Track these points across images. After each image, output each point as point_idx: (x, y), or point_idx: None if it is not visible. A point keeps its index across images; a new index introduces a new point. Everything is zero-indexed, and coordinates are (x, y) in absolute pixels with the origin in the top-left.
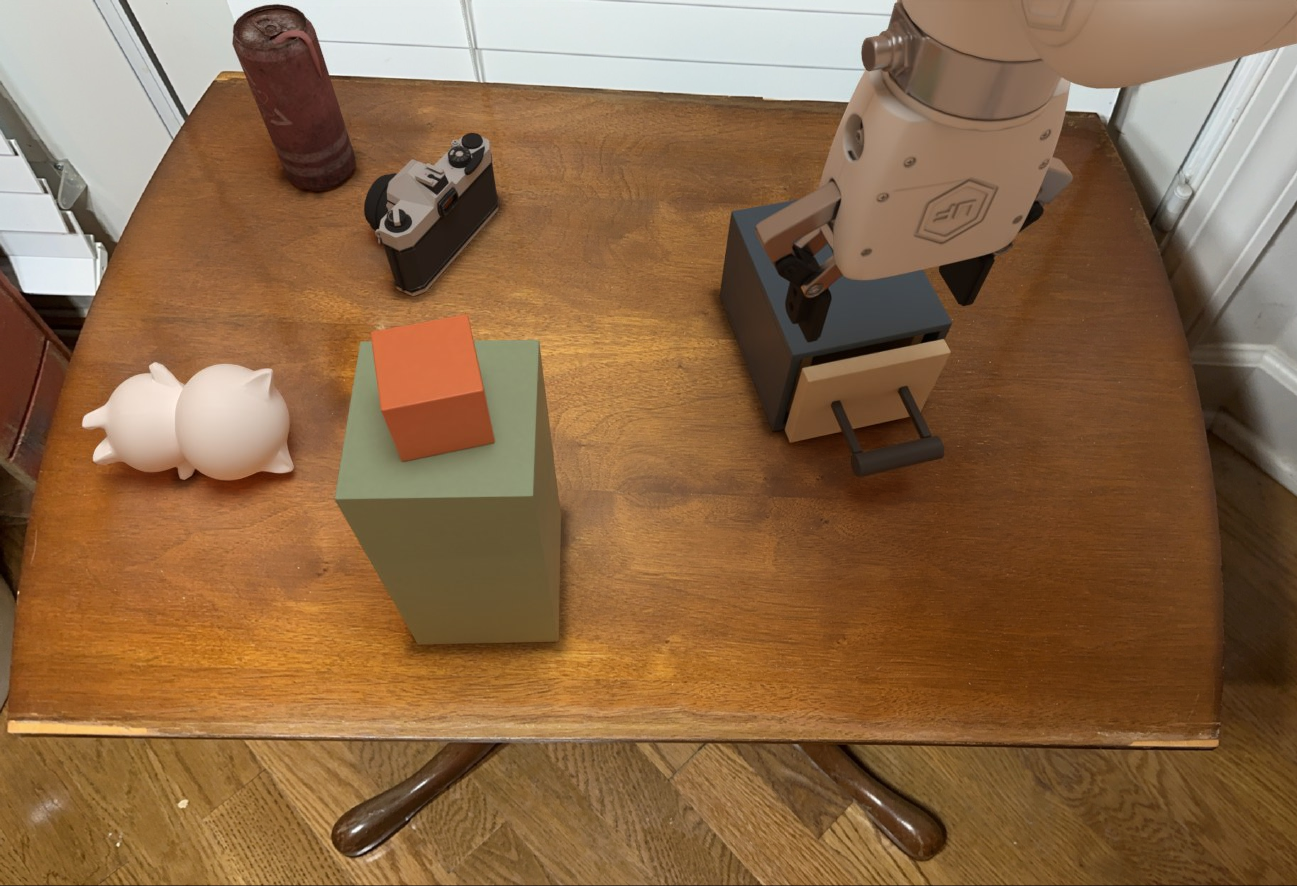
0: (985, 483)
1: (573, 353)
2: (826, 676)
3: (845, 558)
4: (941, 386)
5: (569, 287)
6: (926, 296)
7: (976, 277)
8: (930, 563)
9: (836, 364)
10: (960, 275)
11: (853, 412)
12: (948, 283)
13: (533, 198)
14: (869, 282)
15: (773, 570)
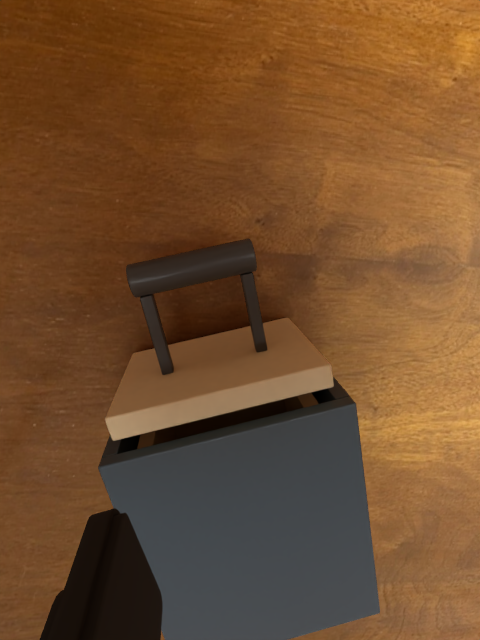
0: (59, 265)
1: (470, 420)
2: (292, 11)
3: (244, 171)
4: (98, 392)
5: (458, 489)
6: (133, 510)
7: (86, 633)
8: (144, 158)
9: (285, 393)
10: (127, 613)
11: (225, 345)
12: (145, 568)
13: (469, 576)
14: (217, 526)
15: (327, 161)
